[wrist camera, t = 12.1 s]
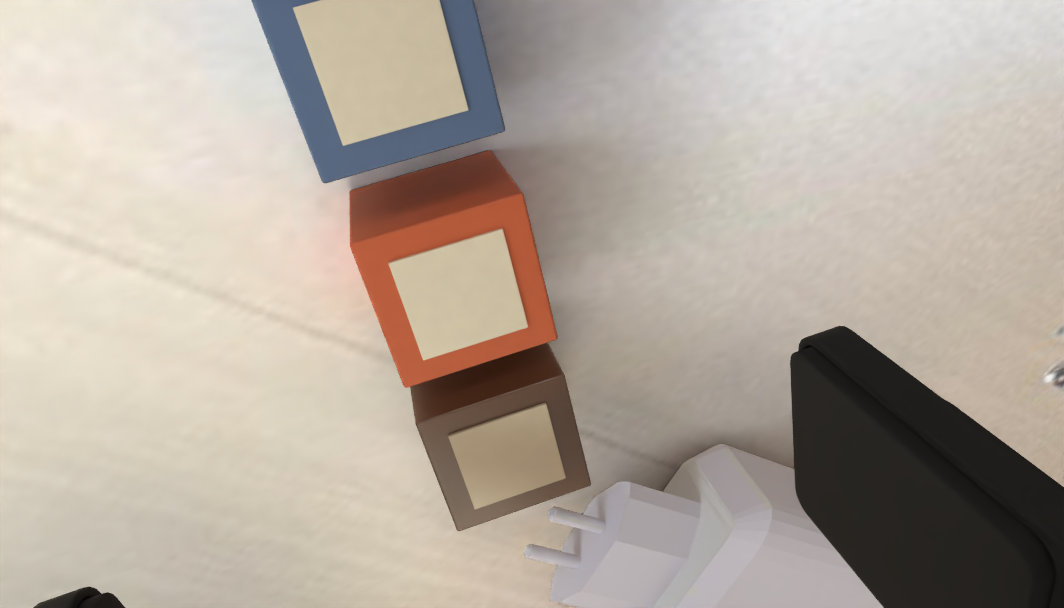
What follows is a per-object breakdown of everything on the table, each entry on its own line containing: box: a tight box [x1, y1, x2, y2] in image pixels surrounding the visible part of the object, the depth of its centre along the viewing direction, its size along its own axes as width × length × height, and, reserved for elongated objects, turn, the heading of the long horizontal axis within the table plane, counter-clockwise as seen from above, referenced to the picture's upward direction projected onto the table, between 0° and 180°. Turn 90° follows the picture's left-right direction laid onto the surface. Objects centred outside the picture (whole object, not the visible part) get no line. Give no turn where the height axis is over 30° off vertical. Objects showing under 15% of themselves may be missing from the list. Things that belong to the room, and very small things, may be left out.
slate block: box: [252, 0, 505, 183], centre depth 16 cm, size 4×4×4 cm
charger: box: [524, 444, 883, 608], centre depth 27 cm, size 5×9×15 cm
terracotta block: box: [350, 150, 557, 388], centre depth 19 cm, size 4×4×4 cm
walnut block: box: [410, 342, 591, 531], centre depth 22 cm, size 4×4×4 cm
